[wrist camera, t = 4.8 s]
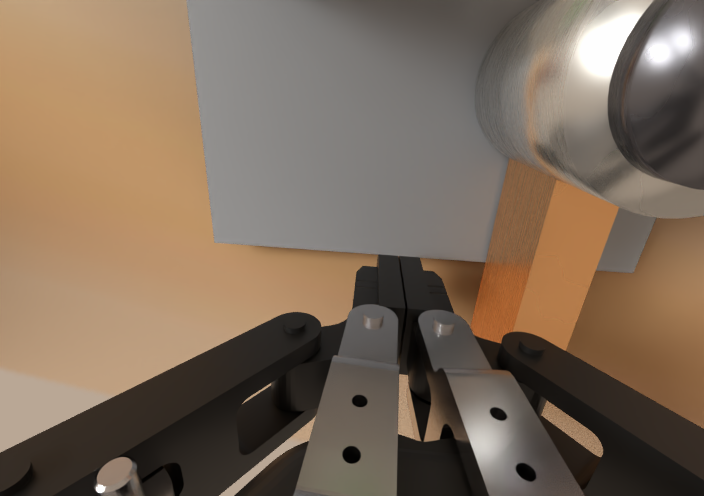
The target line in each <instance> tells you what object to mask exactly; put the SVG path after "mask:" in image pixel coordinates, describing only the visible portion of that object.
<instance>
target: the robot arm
mask: <svg viewBox="0 0 704 496" xmlns="http://www.w3.org/2000/svg"><path fill="white" fill-rule="evenodd" d="M399 374H404V375H408V380H409V381H408V388H407V394H406V396H407V402H408V407H409V412H410V417H411V423H412V428H413V433H414V438H415V440H414V439H411V438H408V437H405V436H402V435H399V434H398V400H399ZM270 383H271V386H270V387H268V388H267V389H265V390H263V391H262V392H260V393H259V394H257V395H256V396H254V397H253V398H251V399H250V400H248V401H247V402H245V403H243V402H244V401H245V400H246V399H247V398H248V397H250V396H251V395H253V394H254V393H256V392H258V391H259V390H261V389H262V388H264V387H265V386H267V385H268V384H270ZM547 400H548V401H549V402H550V403H552V404H553V405H555V406H556V407H558V408H559V409H561V410H562V411H563V412H565V413H566V414H568V415H569V416H571V417H572V418H573V419H575V420H576V421H578V422H579V423H581V424H582V425H584V426H585V427H586V428H588V429H589V430H591V431H592V432H593V433H594V434H595V435H596V436H597V437H598V439H599V440H600V442H601V444H602V446H603V455H602V457H598V456H596V455H594V454H593V453H591V452H590V451H589V450H587V449H586V448H585V447H583V446H582V445H580V444H579V443H578V442H576V441H575V440H574V439H572V438H571V437H570V436H568V435H567V434H566V433H564V432H563V431H562V430H560V429H559V428H557V427H556V426H555V425H553V424H552V423H551V422H549V421H548V420H547V419H545V418H544V417H543V416H541V414H542V411H543V409H544V406H545V403H546V401H547ZM242 403H243V404H242ZM241 404H242V405H241ZM316 414H317V415H316ZM315 416H316V418H315V422H314V425H313V429H312V432H311V436H310V439H309V441H307V442H305V443H302V444H300V445H297V446H295V447H294V448H292V449H290V450H288V451H286V452H285V453H283V454H282V455H280V456H279V457H277V458H276V459H275V460H274V461H273V462H271V463H270V464H269V465H268V466H267V467H266V468H265V469H264V470H262V471H261V472H260V473H259V474H258V475H257V476H256V477H254V478H253V479H252V480H251V481H250V482H249V483H248V484H247V485H246V486H244V488H242V489H241V490H240V491H239V492H238V493H237V494H236V495H235V496H704V429H703V428H701V427H699V426H697V425H696V424H694V423H692V422H690V421H689V420H687V419H685V418H683V417H681V416H680V415H678V414H676V413H674V412H673V411H671V410H669V409H667V408H665V407H664V406H662V405H660V404H658V403H657V402H655V401H653V400H651V399H650V398H648V397H646V396H644V395H642V394H641V393H639V392H637V391H635V390H634V389H632V388H630V387H628V386H627V385H625V384H623V383H621V382H619V381H618V380H616V379H614V378H612V377H611V376H609V375H607V374H605V373H604V372H602V371H600V370H598V369H596V368H595V367H593V366H591V365H589V364H588V363H586V362H584V361H582V360H581V359H579V358H577V357H575V356H573V355H572V354H570V353H568V352H566V351H565V350H563V349H561V348H559V347H558V346H556V345H554V344H552V343H550V342H549V341H547V340H545V339H543V338H541V337H539V336H537V335H534V334H531V333H526V332H518V331H516V332H509V333H507V334H505V335H504V336H503V338H502V341H501V344H500V343H497V342H493V341H490V340H486V339H483V338H480V337H477V336H475V335H474V334H473V333H472V331H471V329H470V327H469V325H468V324H467V322H466V321H465V320H464V319H463V318H461V317H460V316H458V315H456V314H454V311H453V309H452V306H451V303H450V300H449V298H448V295H447V292H446V289H445V288H444V284H443V281H442V279H441V278H440V277H439V276H438V275H437V274H436V273H434V272H433V271H423V268H422V264H421V261H420V258H419V257H409V256H399V258H398V256H395V255H382V254H378V259H377V267H370V266H363V267H361V268H360V269H359V270H358V271H357V273H356V282H355V291H354V299H353V308H352V310H351V311H350V312H349V315H348V319H347V320H345V321H343V322H341V323H339V324H336V325H331V326H324V327H321V323H320V322H319V320H318V319H317V318H315V317H314V316H312V315H310V314H307V313H301V312H292V313H286V314H282V315H280V316H278V317H276V318H274V319H271V320H269V321H267V322H265V323H263V324H261V325H259V326H257V327H255V328H253V329H251V330H249V331H247V332H245V333H243V334H241V335H239V336H237V337H235V338H233V339H231V340H229V341H227V342H225V343H223V344H221V345H219V346H217V347H214V348H212V349H210V350H208V351H206V352H204V353H202V354H200V355H198V356H196V357H194V358H192V359H190V360H188V361H186V362H184V363H182V364H180V365H178V366H176V367H174V368H172V369H170V370H168V371H166V372H164V373H162V374H160V375H157V376H155V377H153V378H151V379H149V380H147V381H145V382H143V383H141V384H139V385H137V386H135V387H133V388H131V389H129V390H127V391H125V392H123V393H121V394H119V395H117V396H115V397H113V398H111V399H109V400H107V401H105V402H103V403H100V404H98V405H96V406H94V407H93V408H90V409H88V410H86V411H84V412H82V413H80V414H78V415H76V416H74V417H72V418H70V419H68V420H66V421H64V422H62V423H60V424H58V425H56V426H54V427H52V428H50V429H48V430H46V431H43V432H41V433H39V434H37V435H35V436H33V437H31V438H29V439H27V440H25V441H23V442H21V443H19V444H17V445H15V446H13V447H11V448H9V449H7V450H5V451H3V452H1V453H0V496H219V495H220V494H221V493H222V492H224V491H225V490H226V489H227V488H229V486H231V485H232V484H233V483H235V482H236V481H237V480H238V479H239V478H241V477H242V476H243V475H244V474H246V473H247V472H248V471H249V470H251V469H252V468H253V467H254V466H255V465H257V464H258V463H259V462H260V461H261V460H263V459H264V458H265V457H266V456H268V455H269V454H270V453H271V452H273V451H274V450H275V449H276V448H277V447H279V446H280V445H281V444H282V443H284V442H285V441H286V440H287V439H289V438H290V437H291V436H292V435H293V434H295V433H296V432H297V431H298V430H300V429H301V428H302V427H303V426H305V425H306V424H307V423H308V422H309V421H311V420H312V419H313V418H314V417H315Z"/></svg>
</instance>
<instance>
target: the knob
mask: <svg viewBox="0 0 704 496" xmlns="http://www.w3.org/2000/svg"><path fill="white" fill-rule="evenodd" d="M475 109H476V115H477V119H478V122H479V125H480V127H481V130H482V132H483V134H484V135H485V137H486V138H487V140H488V141H489V142H490V144H491V145H492V146H493V147H494V148H495V149H496V150H498V151H499V152H500V153H501V154H503V155H505V156H506V157H508V158H509V161H508V165H507V170H506V174H505V178H504V183H503V187H502V192H501V196H500V200H499V205H498V209H497V214H496V218H495V222H494V227H493V231H492V236H491V240H490V244H489V249H488V253H487V258H486V262H485V266H484V271H483V275H482V279H481V284H480V288H479V293H478V297H477V301H476V306H475V310H474V315H473V319H472V323H471V328H472V330H473V333H474V335H475V336H477V337H480V338H483V339H486V340H490V341H493V342H497V343H500V344H501V341H502V338H503V336H504V335H505V334H507V333H509V332H516V331H518V332H526V333H531V334H534V335H537V336H539V337H541V338H543V339H545V340H547V341H549V342H550V343H552V344H554V345H556V346H558V347H559V348H561V349H563V350H565V351H566V349H567V346H568V344H569V341H570V338H571V336H572V333H573V330H574V327H575V325H576V322H577V319H578V317H579V314H580V311H581V309H582V306H583V303H584V301H585V298H586V295H587V293H588V290H589V287H590V285H591V282H592V279H593V276H594V274H595V271H596V268H597V266H598V263H599V260H600V258H601V255H602V252H603V250H604V247H605V244H606V242H607V239H608V236H609V233H610V231H611V228H612V225H613V223H614V220H615V217H616V215H617V212H618V209H619V207H620V208H623V209H625V210H627V211H630V212H633V213H636V214H640V215H644V216H649V217H656V218H678V219H681V218H691V217H700V216H704V0H539V1H538V2H536V3H535V4H533V5H531V6H530V7H528V8H526V9H525V10H523V11H522V12H520V13H519V14H518V15H517V16H515V17H514V18H513V19H512V20H511V21H510V22H509V23H508V24H507V25H506V26H505V27H504V28H503V29H502V30H501V31H500V33H499V34H498V35H497V36H496V38H495V39H494V41H493V42H492V44H491V45H490V47H489V48H488V50H487V52H486V54H485V56H484V58H483V61H482V63H481V66H480V69H479V72H478V76H477V80H476V87H475Z"/></svg>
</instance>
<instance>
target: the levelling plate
mask: <svg viewBox="0 0 704 496" xmlns="http://www.w3.org/2000/svg"><path fill="white" fill-rule="evenodd" d="M538 1H539V0H187V8H188V17H189V26H190V34H191V43H192V52H193V60H194V69H195V77H196V86H197V95H198V103H199V112H200V121H201V129H202V138H203V147H204V155H205V164H206V173H207V181H208V190H209V199H210V207H211V216H212V224H213V233H214V242H215V243H227V244H241V245H254V246H268V247H282V248H295V249H309V250H323V251H336V252H350V253H364V254H382V255H395V256H409V257H419V258H432V259H446V260H460V261H473V262H486V258H487V253H488V249H489V244H490V240H491V236H492V231H493V227H494V222H495V218H496V214H497V209H498V205H499V200H500V196H501V192H502V187H503V183H504V178H505V174H506V170H507V165H508V161H509V158H508V157H506V156H505V155H503V154H501V153H500V152H499V151H498V150H496V149H495V148H494V147H493V146H492V145H491V144H490V142H489V141H488V140H487V138H486V137H485V135H484V134H483V132H482V130H481V127H480V125H479V122H478V119H477V115H476V109H475V87H476V80H477V76H478V72H479V69H480V66H481V63H482V61H483V58H484V56H485V54H486V52H487V50H488V48H489V47H490V45H491V44H492V42H493V41H494V39H495V38H496V36H497V35H498V34H499V33H500V31H501V30H502V29H503V28H504V27H505V26H506V25H507V24H508V23H509V22H510V21H511V20H512V19H513V18H514V17H515V16H517V15H518V14H519V13H520V12H522V11H523V10H525V9H526V8H528V7H530V6H531V5H533V4H535V3H536V2H538ZM655 220H656V217H649V216H644V215H640V214H636V213H633V212H630V211H627V210H625V209H623V208H620V207H619V209H618V212H617V215H616V217H615V220H614V223H613V225H612V228H611V231H610V233H609V236H608V239H607V242H606V244H605V247H604V250H603V252H602V255H601V258H600V260H599V263H598V266H597V268H596V270H597V271H610V272H624V273H633V272H634V270H635V267H636V265H637V263H638V260H639V258H640V256H641V253H642V251H643V249H644V246H645V244H646V241H647V239H648V237H649V234H650V232H651V230H652V227H653V225H654V222H655Z"/></svg>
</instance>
